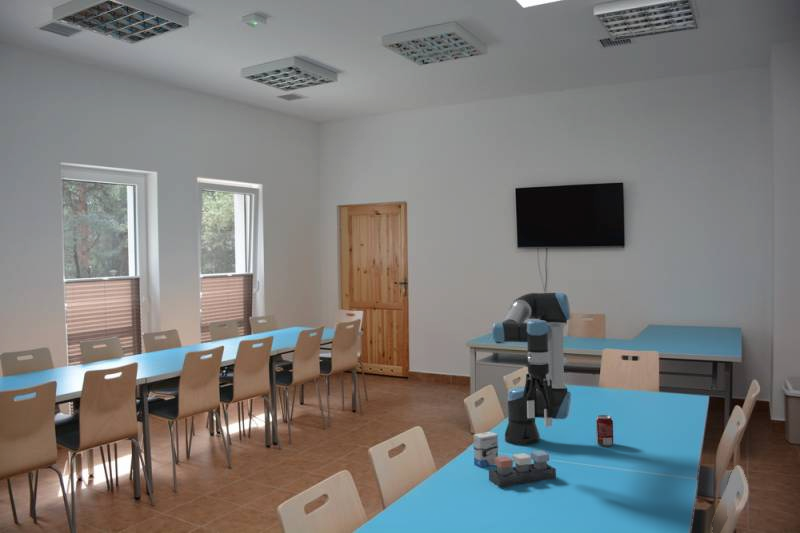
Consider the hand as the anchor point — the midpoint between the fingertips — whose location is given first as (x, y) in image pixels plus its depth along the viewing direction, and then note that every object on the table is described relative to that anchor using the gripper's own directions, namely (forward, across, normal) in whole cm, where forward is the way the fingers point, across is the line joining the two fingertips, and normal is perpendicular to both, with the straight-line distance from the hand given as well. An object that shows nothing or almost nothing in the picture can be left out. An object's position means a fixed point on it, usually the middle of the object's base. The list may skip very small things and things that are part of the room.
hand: (539, 421), depth 226 cm
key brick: (+17, 0, -15) cm, 23 cm away
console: (+20, 0, -8) cm, 22 cm away
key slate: (+17, 0, 0) cm, 17 cm away
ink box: (+20, -20, -12) cm, 31 cm away
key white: (+17, 0, -8) cm, 19 cm away
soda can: (+20, -22, +44) cm, 53 cm away
